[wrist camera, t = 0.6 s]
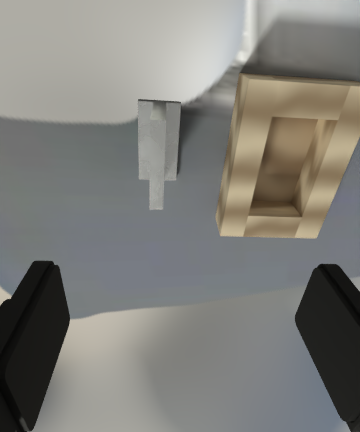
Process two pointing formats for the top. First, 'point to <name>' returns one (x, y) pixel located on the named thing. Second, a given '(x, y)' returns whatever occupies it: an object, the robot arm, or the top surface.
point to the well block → (286, 154)
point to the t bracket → (158, 145)
